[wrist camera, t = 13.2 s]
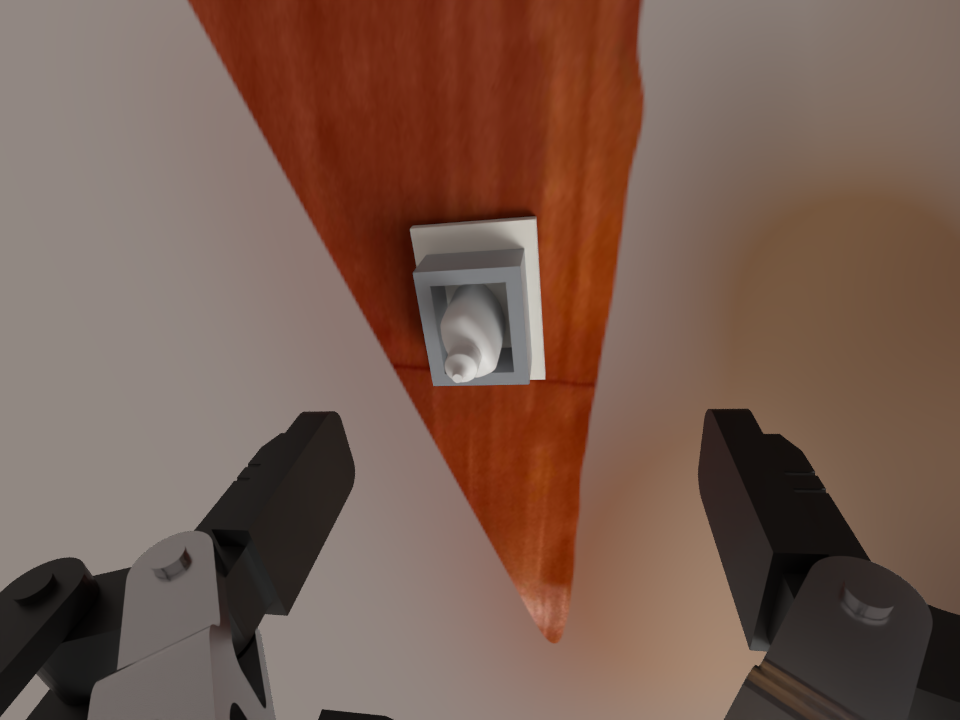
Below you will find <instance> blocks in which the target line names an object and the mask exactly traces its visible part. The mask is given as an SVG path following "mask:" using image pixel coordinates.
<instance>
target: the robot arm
mask: <svg viewBox="0 0 960 720" xmlns="http://www.w3.org/2000/svg"><path fill="white" fill-rule="evenodd" d="M354 479H355V466H354V461H353V457H352V454H351V451H350V448H349V444H348V441H347V437H346V434H345V431H344V427H343V424H342V420H341V418H340V416H339V415H338V413H336V412H335V411H329V412H302V413H301V414H300V415H299V416H298V417H297V418H296V420H295V421H294V422H293V424H292V425H291V426H290V427H289V429H288V430H287V432H286V433H281V434H279V435H278V436H276V437H275V438H274V439H272V440H271V441H270V442H268V443H267V444H265V445H264V446H263V447H261V449H260V450H259V451H258V452H257V453H256V455H255V456H254V457H253V458H252V460H251V461H250V462H249V463H248V467H245V468H244V470H243V471H242V472H241V473H240V475H239V476H238V477H237V481H234V482H233V483H232V485H231V486H230V487H229V488H228V489H227V491H226V492H225V493H224V494H223V496H222V497H221V498H220V499H219V501H218V502H217V503H216V504H215V506H214V507H213V508H212V509H211V510H210V512H209V513H208V514H207V515H206V517H205V518H204V519H203V521H202V522H201V523H200V524H199V525H198V527H197V528H196V529H195V530H194V531H187V532H182V533H178V534H175V535H172V536H170V537H168V538H166V539H164V540H162V541H160V542H158V543H157V544H155V545H154V546H153V547H151V548H149V549H148V550H147V551H146V552H144V553H143V554H142V555H141V556H140V557H139V558H138V560H137V561H136V562H135V563H134V564H133V566H132V567H130V568H126V569H122V570H118V571H113V572H109V573H104V574H100V575H95V576H92V575H91V573H90V572H89V570H88V569H87V568H86V566H85V565H84V563H83V562H82V561H81V560H79V559H77V558H70V557H69V558H60V559H56V560H53V561H49V562H47V563H44V564H42V565H40V566H38V567H36V568H33V569H31V570H30V571H28V572H26V573H25V574H23V575H21V576H20V577H19V578H17V579H16V580H14V581H13V582H12V583H10V584H9V585H8V586H7V587H6V588H5V589H4V590H3V591H1V592H0V717H1V715H2V714H3V713H4V712H5V710H6V709H7V708H8V707H9V706H10V705H11V703H12V702H13V701H14V699H15V698H16V697H17V696H18V695H19V694H20V692H21V691H22V690H23V689H24V688H25V686H26V685H27V684H28V683H29V681H30V680H31V679H32V678H33V677H34V675H35V674H37V675H38V676H39V677H40V678H41V679H42V681H43V682H44V683H45V684H46V685H47V686H48V687H49V688H50V690H49V691H48V692H47V693H46V695H45V696H44V697H43V698H42V700H41V701H40V703H39V704H38V705H37V706H36V707H35V709H34V710H33V711H32V713H31V714H30V715H29V716H28V718H27V719H26V720H276V718H275V713H274V707H273V701H272V695H271V689H270V683H269V678H268V672H267V667H266V660H265V655H264V649H263V643H262V637H261V634H260V631H259V630H258V625H259V624H260V622H261V620H262V618H263V616H264V615H265V614H272V615H286V616H287V615H288V614H289V612H290V610H291V608H292V606H293V604H294V602H295V600H296V598H297V596H298V594H299V592H300V590H301V588H302V586H303V584H304V582H305V580H306V578H307V577H308V575H309V572H310V571H311V569H312V567H313V565H314V563H315V561H316V559H317V557H318V555H319V553H320V551H321V549H322V547H323V545H324V543H325V541H326V539H327V537H328V535H329V533H330V531H331V529H332V527H333V525H334V523H335V521H336V520H337V517H338V516H339V514H340V512H341V510H342V508H343V506H344V504H345V502H346V500H347V498H348V496H349V494H350V492H351V490H352V487H353V484H354ZM698 481H699V489H700V495H701V499H702V502H703V505H704V508H705V512H706V515H707V517H708V521H709V524H710V527H711V530H712V533H713V537H714V540H715V543H716V546H717V549H718V552H719V555H720V558H721V562H722V565H723V568H724V571H725V574H726V577H727V580H728V583H729V586H730V590H731V593H732V596H733V599H734V602H735V605H736V609H737V612H738V615H739V618H740V621H741V624H742V627H743V631H744V634H745V637H746V640H747V643H748V646H749V649H750V650H754V651H767V653H766V655H765V657H764V659H763V661H762V662H761V664H760V665H759V666H757V665H755V666H754V667H753V668H752V669H751V671H750V672H749V674H748V676H747V677H746V679H745V681H744V683H743V684H742V687H741V688H740V690H739V692H738V694H737V696H736V698H735V700H734V701H733V703H732V705H731V707H730V709H729V711H728V713H727V715H726V716H725V718H724V720H960V615H957V614H953V613H950V612H947V611H944V610H941V609H938V608H935V607H933V606H931V605H928V604H926V602H925V600H924V599H923V597H922V596H921V595H920V594H919V593H918V592H917V590H916V589H914V588H913V587H912V586H911V585H910V584H909V583H908V582H907V581H905V580H904V579H903V578H901V577H900V576H899V575H897V574H895V573H894V572H892V571H890V570H889V569H887V568H885V567H883V566H881V565H878V564H876V563H873V562H871V560H870V559H869V557H868V556H867V554H866V553H865V551H864V549H863V548H862V546H861V545H860V543H859V541H858V540H857V538H856V537H855V535H854V533H853V532H852V530H851V529H850V527H849V525H848V524H847V522H846V521H845V519H844V518H843V516H842V514H841V513H840V511H839V509H838V508H837V506H836V505H835V503H834V501H833V500H832V498H831V497H830V495H829V494H828V493H826V489H825V487H824V485H823V484H822V482H821V481H820V479H819V477H818V476H815V471H814V469H813V468H812V466H811V464H810V463H809V461H808V460H807V458H806V456H805V455H804V454H803V452H802V451H801V450H800V449H799V448H797V447H796V446H794V445H793V444H792V443H791V442H789V441H788V440H787V439H785V438H784V437H783V436H782V435H780V434H763V432H762V431H761V429H760V427H759V425H758V423H757V421H756V420H755V418H754V416H753V414H752V412H751V411H750V410H749V409H708V410H707V412H706V414H705V419H704V427H703V434H702V442H701V451H700V459H699V467H698ZM318 720H393V719H391V718H389V717H387V716H381V715H370V714H361V713H352V712H342V711H333V710H323V709H322V711H321V714H320V716H319V719H318Z"/></svg>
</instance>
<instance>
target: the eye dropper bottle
mask: <svg viewBox="0 0 960 720" xmlns="http://www.w3.org/2000/svg"><path fill="white" fill-rule="evenodd" d="M440 327H441V336H442V340H443V344H444V346H445V349H446V351H447V353H448V356H447V358H446V361H445V365H444V366H445V372H446V373H447V375H448V376H449V377H450V378H451V379H453V381H454V382H455V383H460V382H468V381H470V380H472V379H474V377H475V378H477V377H482V376H484V375H487V374H489V373H491V372H492V371H494V370H495V368H496V366H497V363H498V359H499V355H500V351H501V347H502V343H503V338H504V334H505V330H506V323H505V317H504V313H503V310H502V308H501V305H500V303H499V302H498V300H497V298H496V297H495V295H494V294H493V293H492V292H491V291H490V290H489V289H488V288H487V287H486V286H485V285H484V284H465V285H462V286H460V287H458V288H457V290H456V291H455V293H454V295H453V297H452V299H451V301H450V303H449V306H448V308H447V310H446V312H445V314H444V316H443V318H442V321H441V325H440Z"/></svg>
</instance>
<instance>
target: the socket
mask: <svg viewBox="0 0 960 720" xmlns="http://www.w3.org/2000/svg"><path fill="white" fill-rule="evenodd" d="M410 233H411V239H412V245H413V250H414V256H415V261H416V267H417V268H416V269H415V270H414V272H413V277H414V283H415V288H416V294H417V299H418V305H419V310H420V316H421V321H422V326H423V332H424V337H425V343H426V348H427V354H428V359H429V365H430V370H431V376H432V381H433V386H459V385H514V384H529V383H530V380H538V379H545V359H544V342H543V324H542V307H541V290H540V272H539V255H538V238H537V221H536V216H532V217H519V218H506V219H493V220H480V221H467V222H454V223H441V224H429V225H416V226H412V227H411V228H410ZM465 284H484V285H485V286H486V287H487V288H488V289H489V290H490V291H491V292H492V293H493V294H494V295H495V297H496V298H497V300H498V302H499V303H500V305H501V308H502V310H503V313H504V317H505V323H506V330H505V334H504V338H503V343H502V347H501V351H500V355H499V359H498V363H497V366H496V368H495V370H494V371H492V372H491V373H489V374H487V375H484V376H482V377H477V378H475V377H474V379H472V380H470V381H468V382H460V383H455V382H454V381H453V379H451V378H450V377H449V376H448V375H447V373H446V372H445V366H444V365H445V361H446V358H447V356H448V353H447V351H446V349H445V346H444V344H443V340H442V336H441V327H440V325H441V321H442V318H443V316H444V314H445V312H446V310H447V308H448V306H449V303H450V301H451V299H452V297H453V295H454V293H455V291H456V290H457V288H458V287H460V286H462V285H465Z"/></svg>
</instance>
